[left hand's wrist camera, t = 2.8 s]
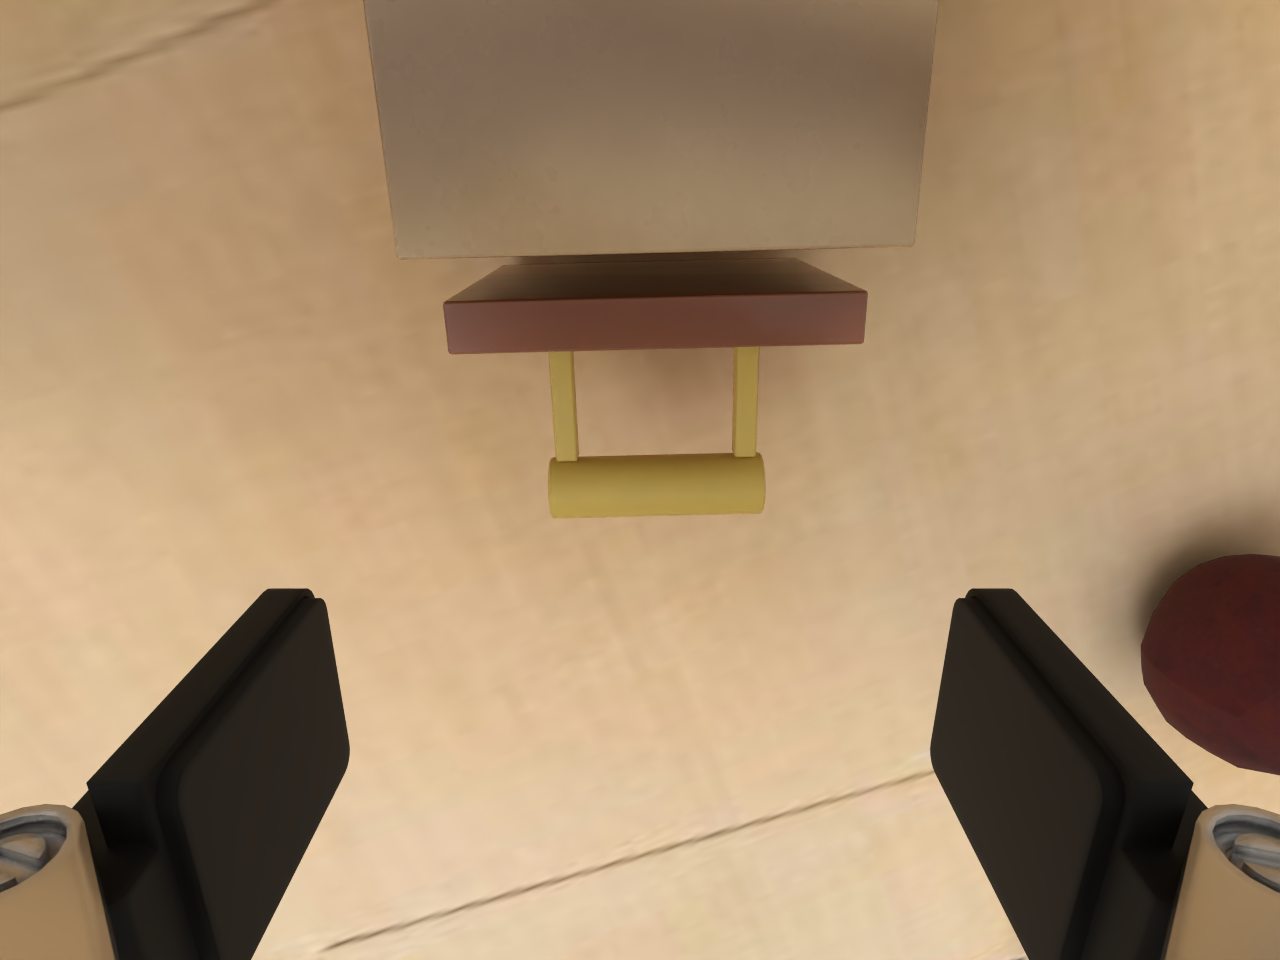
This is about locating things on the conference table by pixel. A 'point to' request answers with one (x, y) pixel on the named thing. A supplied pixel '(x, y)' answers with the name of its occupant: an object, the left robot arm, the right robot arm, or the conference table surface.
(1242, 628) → the dark maroon ball
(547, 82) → the cabinet
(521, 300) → the drawer
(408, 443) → the conference table surface
